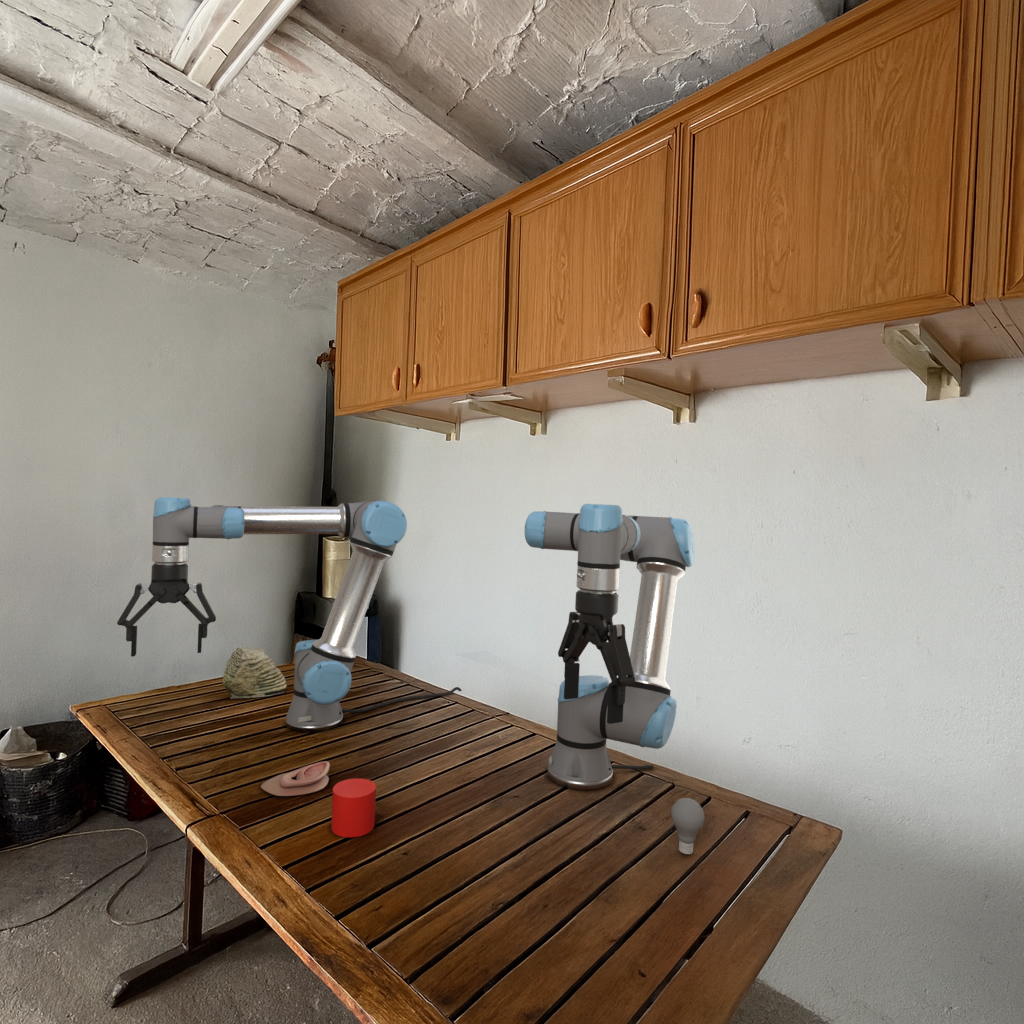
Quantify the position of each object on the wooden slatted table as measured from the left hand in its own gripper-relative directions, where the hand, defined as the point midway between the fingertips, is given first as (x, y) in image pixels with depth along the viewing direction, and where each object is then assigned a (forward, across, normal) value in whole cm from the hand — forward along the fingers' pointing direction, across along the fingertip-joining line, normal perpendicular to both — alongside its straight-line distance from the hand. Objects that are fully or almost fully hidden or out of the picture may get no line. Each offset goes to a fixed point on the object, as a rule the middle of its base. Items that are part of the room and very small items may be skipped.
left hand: (167, 653), depth 149 cm
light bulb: (+25, +92, -76) cm, 121 cm away
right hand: (-3, +72, -72) cm, 102 cm away
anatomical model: (+25, +27, -24) cm, 44 cm away
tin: (+25, +36, -45) cm, 63 cm away
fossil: (+25, +22, +44) cm, 55 cm away
